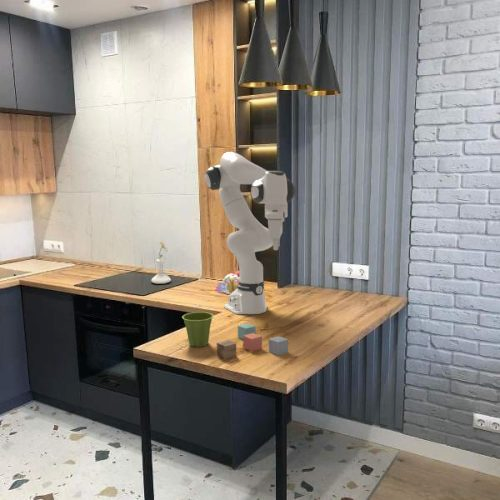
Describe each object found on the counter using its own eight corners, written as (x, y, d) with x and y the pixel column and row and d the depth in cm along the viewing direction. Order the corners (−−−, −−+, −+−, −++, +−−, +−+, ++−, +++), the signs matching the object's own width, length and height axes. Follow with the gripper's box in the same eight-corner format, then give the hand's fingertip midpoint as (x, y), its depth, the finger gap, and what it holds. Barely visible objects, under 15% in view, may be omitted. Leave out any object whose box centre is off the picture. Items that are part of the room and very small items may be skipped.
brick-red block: (243, 348, 192) (243, 335, 191) (253, 345, 195) (253, 332, 194) (251, 352, 188) (251, 339, 187) (261, 349, 191) (261, 336, 190)
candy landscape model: (264, 291, 281) (264, 274, 279) (227, 297, 268) (227, 280, 267) (241, 283, 302) (240, 267, 300) (205, 288, 289) (205, 272, 288)
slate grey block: (268, 351, 188) (268, 338, 187) (279, 348, 191) (278, 336, 190) (278, 355, 184) (278, 342, 183) (288, 352, 187) (288, 339, 186)
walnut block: (217, 355, 184) (216, 342, 183) (228, 352, 187) (228, 339, 186) (225, 359, 180) (225, 346, 180) (236, 356, 183) (236, 343, 183)
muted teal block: (237, 337, 204) (237, 325, 203) (247, 335, 207) (247, 323, 206) (245, 340, 200) (245, 328, 199) (255, 338, 203) (255, 326, 202)
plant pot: (198, 337, 204) (198, 309, 203) (220, 343, 197) (219, 315, 195) (176, 344, 196) (175, 316, 194) (198, 351, 188) (197, 322, 186)
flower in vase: (169, 285, 296) (168, 242, 292) (149, 285, 296) (148, 242, 292) (172, 280, 309) (171, 239, 305) (153, 280, 309) (152, 239, 305)
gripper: (270, 211, 208) (270, 244, 210) (265, 214, 188) (266, 252, 190) (285, 210, 207) (286, 244, 209) (282, 214, 187) (283, 251, 189)
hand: (276, 248), depth 199 cm, fingers open, 8 cm apart
